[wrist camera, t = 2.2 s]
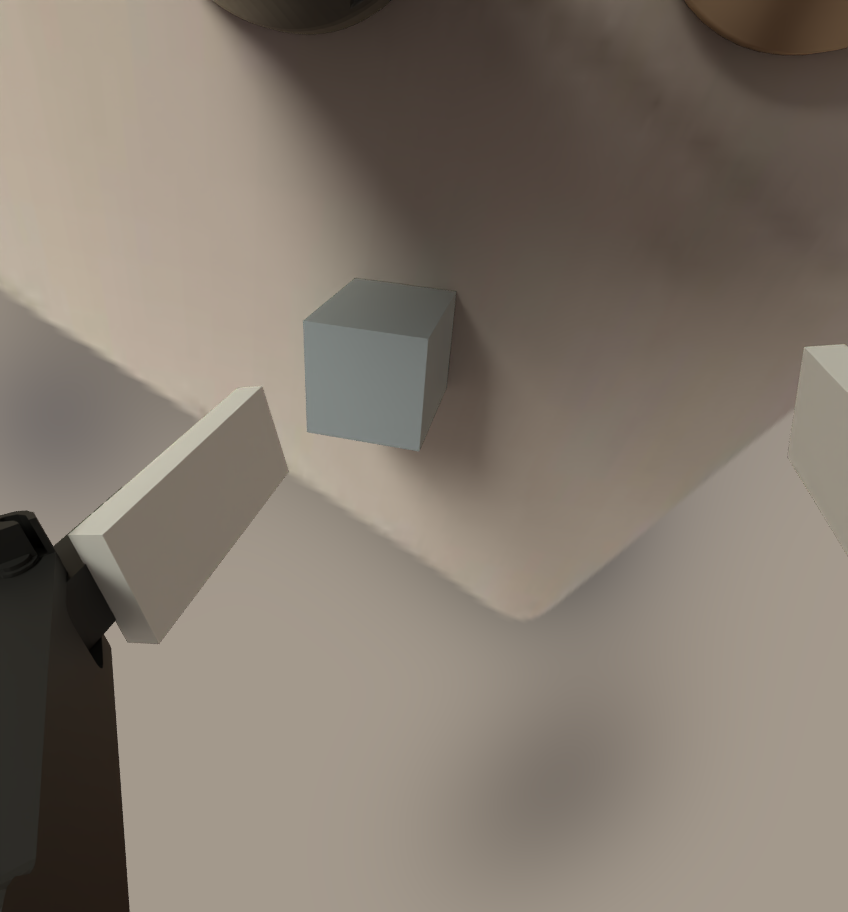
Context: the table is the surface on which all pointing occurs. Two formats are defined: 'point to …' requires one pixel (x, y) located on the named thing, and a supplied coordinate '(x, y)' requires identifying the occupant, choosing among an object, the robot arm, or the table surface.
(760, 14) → the peg stand
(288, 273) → the table surface
